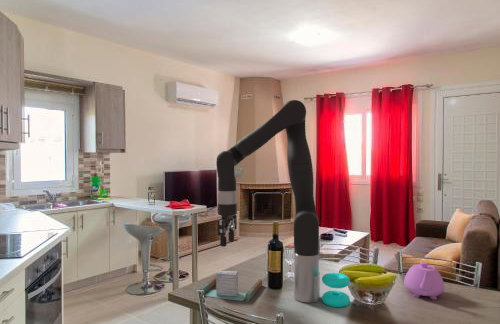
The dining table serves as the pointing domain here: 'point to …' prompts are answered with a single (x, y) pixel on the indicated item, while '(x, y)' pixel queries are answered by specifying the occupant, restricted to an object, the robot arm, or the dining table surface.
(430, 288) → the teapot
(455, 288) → the dining table surface
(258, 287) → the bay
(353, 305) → the dining table surface
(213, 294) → the front pad
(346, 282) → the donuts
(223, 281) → the medicine box
